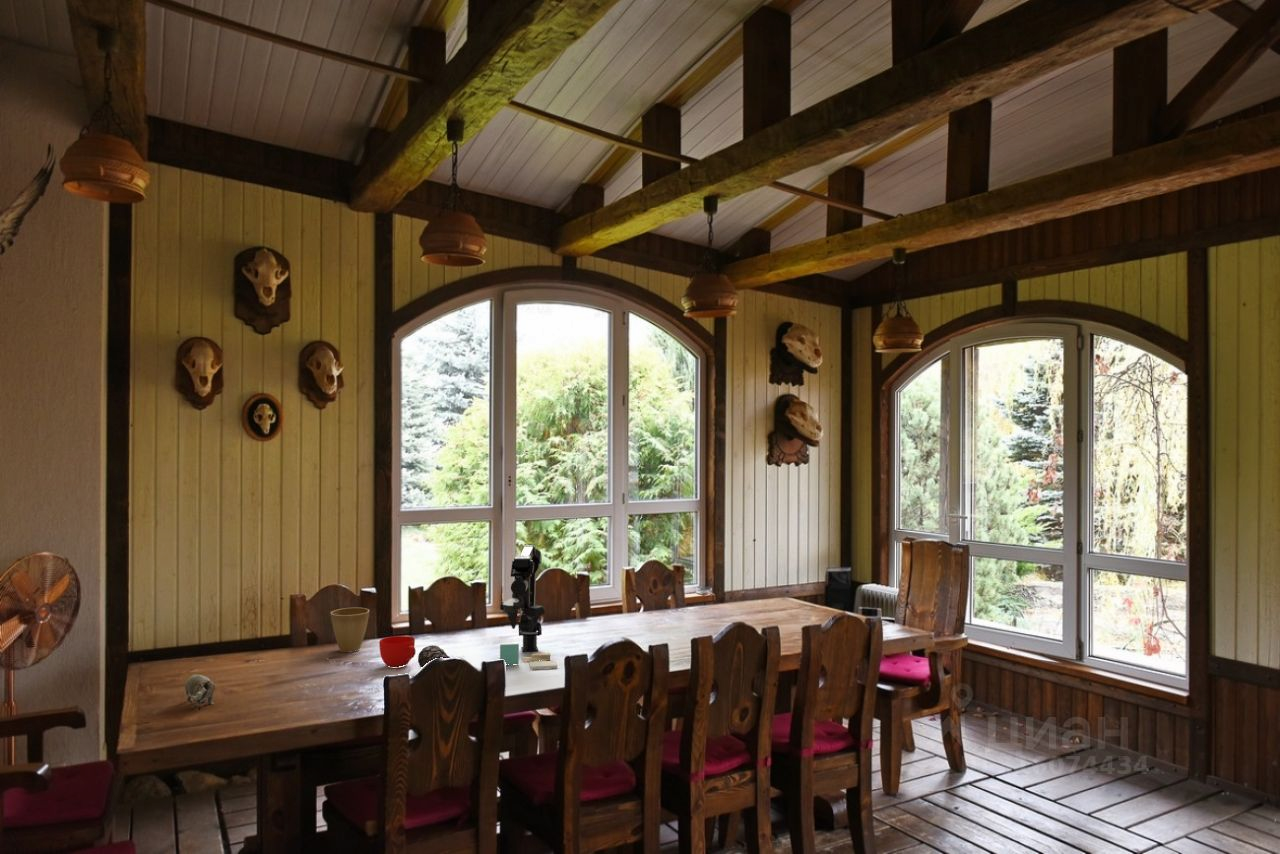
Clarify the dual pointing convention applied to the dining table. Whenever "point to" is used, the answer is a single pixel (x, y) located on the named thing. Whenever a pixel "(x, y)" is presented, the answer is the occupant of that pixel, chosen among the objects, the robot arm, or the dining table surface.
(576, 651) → the dining table surface
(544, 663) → the rest
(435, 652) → the pine cone
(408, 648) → the ceramic cup
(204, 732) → the dining table surface
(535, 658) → the beige flat block
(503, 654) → the tile
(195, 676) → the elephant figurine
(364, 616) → the plant pot
